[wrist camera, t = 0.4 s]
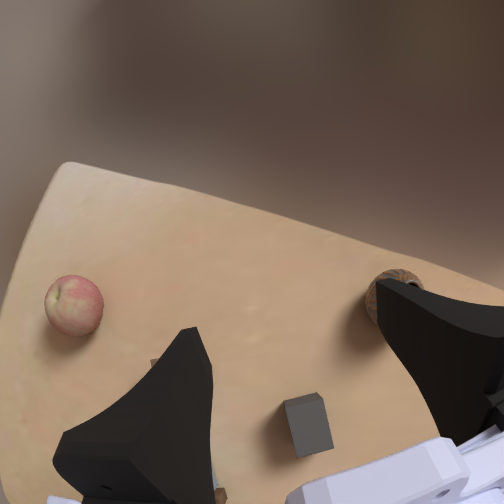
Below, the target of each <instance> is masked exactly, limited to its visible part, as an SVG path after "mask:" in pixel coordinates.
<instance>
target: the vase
mask: <svg viewBox="0 0 504 504" xmlns="http://www.w3.org/2000/svg"><path fill="white" fill-rule="evenodd" d="M386 278H392V279H396V280H399V281H401V282H404V283H407V284H410V285H412V286H415V287H418V288H420V289H423V290H424V287H423V285H422V283H421V281H420V280H419V278H418V277H417V276H416V275H414V274H413V273H411V272H409V271H407V270H403V269H391V270H388V271H385V272H383V273H381V274H380V275H378V276H377V277H376V278H375V279H374V280H373V281H372V282H371V284H370V285H369V287H368V289H367V292H366V297H365V306H366V311H367V313H368V315H369V317H370V319H371V320H372V321H373V322H374V323H375V324H376V325H378V324H377V302H376V281H379V280H383V279H386Z"/></svg>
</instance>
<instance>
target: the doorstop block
mask: <svg viewBox="0 0 504 504" xmlns="http://www.w3.org/2000/svg"><path fill="white" fill-rule="evenodd" d="M284 405H285V410H286V414H287V418H288V422H289V426H290V431H291V435H292V439H293V443H294V447H295V451H296V455H297V458H299V457H303V456H307V455H311V454H315V453H319V452H323V451H326V450H330V449H333V448H334V446H333V441H332V436H331V432H330V428H329V423H328V419H327V414H326V410H325V406H324V401H323V398H322V397H321V396H320V395H319V394H318V393H317V392H316V393H312V394H309V395H305V396H301V397H297V398H293V399H289V400H285V401H284Z"/></svg>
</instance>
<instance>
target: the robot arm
mask: <svg viewBox="0 0 504 504" xmlns="http://www.w3.org/2000/svg"><path fill="white" fill-rule="evenodd" d="M376 302H377V324H378V326H379V328H380V330H381V332H382V334H383V336H384V338H385V339H386V341H387V343H388V344H389V346H390V347H391V349H392V350H393V351H394V353H395V354H396V356H397V357H398V358H399V360H400V361H401V362H402V364H403V365H404V367H405V368H406V369H407V371H408V372H409V374H410V375H411V376H412V378H413V379H414V381H415V383H416V384H417V386H418V388H419V390H420V392H421V394H422V395H423V397H424V399H425V401H426V403H427V406H428V408H429V410H430V412H431V414H432V416H433V419H434V421H435V423H436V426H437V428H438V431H439V433H440V436H441V437H435V438H432V439H429V440H426V441H423V442H420V443H418V444H416V445H413V446H411V447H409V448H406V449H404V450H401V451H399V452H396V453H394V454H391V455H389V456H386V457H383V458H381V459H378V460H375V461H372V462H369V463H367V464H364V465H361V466H357V467H354V468H351V469H348V470H345V471H341V472H338V473H334V474H331V475H327V476H324V477H321V478H318V479H316V480H313V481H310V482H307V483H304V484H303V485H301V486H300V487H298V488H297V489H295V490H294V491H292V492H291V493H290V494H289V495H288V496H287V498H286V501H285V504H504V306H490V305H481V304H474V303H468V302H464V301H459V300H455V299H451V298H447V297H444V296H441V295H437V294H434V293H431V292H429V291H426V290H423V289H420V288H418V287H415V286H412V285H410V284H407V283H404V282H401V281H399V280H396V279H392V278H386V279H383V280H379V281H376ZM212 398H213V375H212V365H211V363H210V360H209V358H208V355H207V353H206V350H205V348H204V345H203V343H202V340H201V337H200V335H199V332H198V330H197V327H192V328H187V329H182V330H181V331H180V332H179V333H178V335H177V336H176V337H175V339H174V340H173V341H172V343H171V344H170V345H169V347H168V348H167V349H166V351H165V352H164V353H163V355H162V356H161V357H160V358H159V360H158V361H157V362H156V363H155V364H154V366H153V367H152V368H151V369H150V370H149V371H148V373H147V374H146V375H145V376H144V377H143V378H142V379H141V380H140V381H139V382H138V383H137V384H136V385H135V386H134V387H133V388H132V389H131V390H130V391H129V392H128V393H126V394H125V395H124V396H123V397H121V398H120V399H119V400H118V401H116V402H115V403H114V404H112V405H111V406H110V407H108V408H107V409H106V410H104V411H103V412H101V413H100V414H98V415H96V416H95V417H93V418H91V419H90V420H88V421H86V422H84V423H82V424H80V425H78V426H76V427H74V428H72V429H70V430H68V431H65V432H63V435H62V437H61V440H60V442H59V444H58V447H57V449H56V452H55V454H54V457H53V465H54V467H55V469H56V471H57V472H58V473H59V474H60V476H61V477H62V478H63V479H65V480H66V481H67V482H68V483H69V484H70V485H71V486H72V487H74V488H75V489H76V490H77V491H78V492H80V493H81V494H82V495H83V496H84V497H83V501H82V503H80V502H78V501H76V500H73V499H68V498H63V497H58V496H53V495H49V497H48V500H47V503H46V504H216V501H215V493H214V485H213V476H212V466H211V452H210V425H211V411H212Z"/></svg>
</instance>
